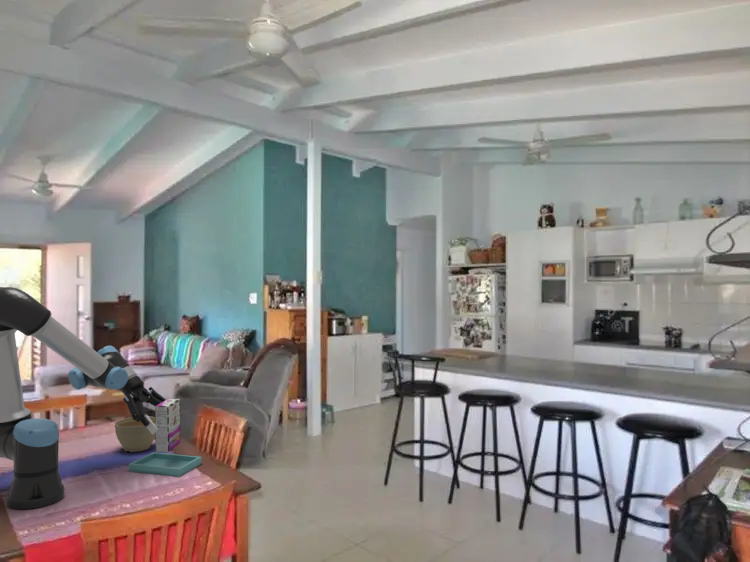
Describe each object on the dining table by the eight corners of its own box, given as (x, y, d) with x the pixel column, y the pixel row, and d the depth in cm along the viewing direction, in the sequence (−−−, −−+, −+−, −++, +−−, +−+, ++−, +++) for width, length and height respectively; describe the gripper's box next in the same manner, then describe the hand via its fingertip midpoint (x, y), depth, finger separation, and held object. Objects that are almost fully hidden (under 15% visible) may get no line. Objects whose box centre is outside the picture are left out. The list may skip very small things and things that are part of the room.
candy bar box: (167, 442, 208) (167, 398, 207) (180, 443, 207) (180, 398, 207) (154, 452, 196) (154, 405, 196) (168, 452, 196) (168, 405, 196)
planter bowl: (145, 440, 234) (145, 414, 234) (166, 448, 224) (166, 420, 224) (106, 449, 221) (106, 421, 221) (127, 458, 211) (127, 429, 211)
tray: (179, 476, 192) (179, 469, 192) (128, 471, 197) (128, 464, 197) (201, 463, 205) (201, 456, 205) (153, 458, 210) (153, 452, 210)
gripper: (143, 382, 218) (178, 425, 214) (99, 395, 195) (137, 443, 191) (155, 369, 216) (191, 412, 213) (112, 381, 193) (151, 429, 190)
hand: (166, 427), depth 202 cm, fingers closed on candy bar box, 11 cm apart
